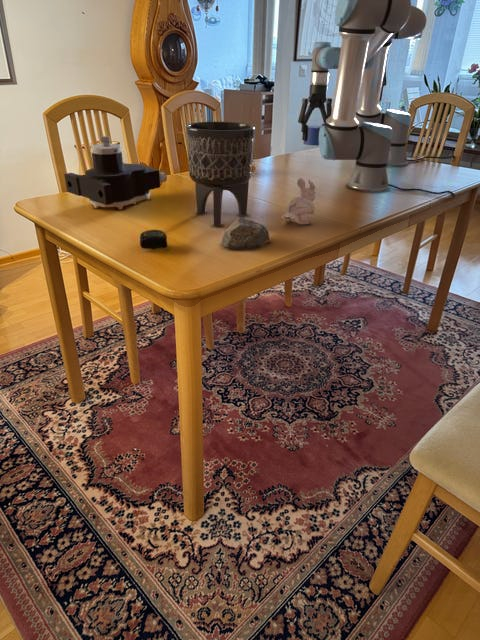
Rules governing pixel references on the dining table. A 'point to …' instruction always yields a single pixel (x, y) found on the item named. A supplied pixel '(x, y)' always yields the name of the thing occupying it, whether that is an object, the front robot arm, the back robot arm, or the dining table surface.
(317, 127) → the blue cylinder
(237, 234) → the rock
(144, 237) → the tape measure
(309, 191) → the figurine
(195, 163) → the planter
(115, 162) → the mechanical component
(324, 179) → the dining table surface
